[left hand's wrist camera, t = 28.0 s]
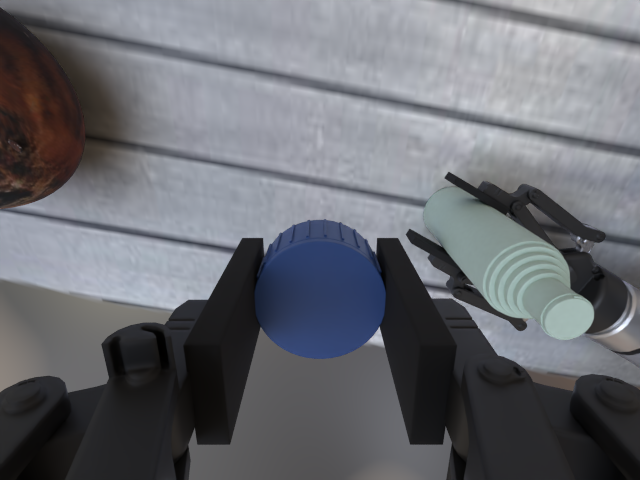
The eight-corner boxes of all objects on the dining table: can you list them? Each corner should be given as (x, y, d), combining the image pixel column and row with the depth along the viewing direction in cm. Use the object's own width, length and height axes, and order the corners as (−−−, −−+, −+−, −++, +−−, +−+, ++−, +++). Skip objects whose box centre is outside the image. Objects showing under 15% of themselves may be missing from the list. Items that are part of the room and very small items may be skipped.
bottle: (468, 240, 48) (598, 367, 26) (417, 233, 48) (505, 355, 25) (482, 190, 46) (639, 281, 23) (430, 183, 46) (538, 267, 23)
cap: (378, 215, 14) (388, 236, 12) (378, 321, 15) (387, 357, 13) (255, 221, 14) (244, 243, 12) (267, 326, 15) (259, 363, 13)
